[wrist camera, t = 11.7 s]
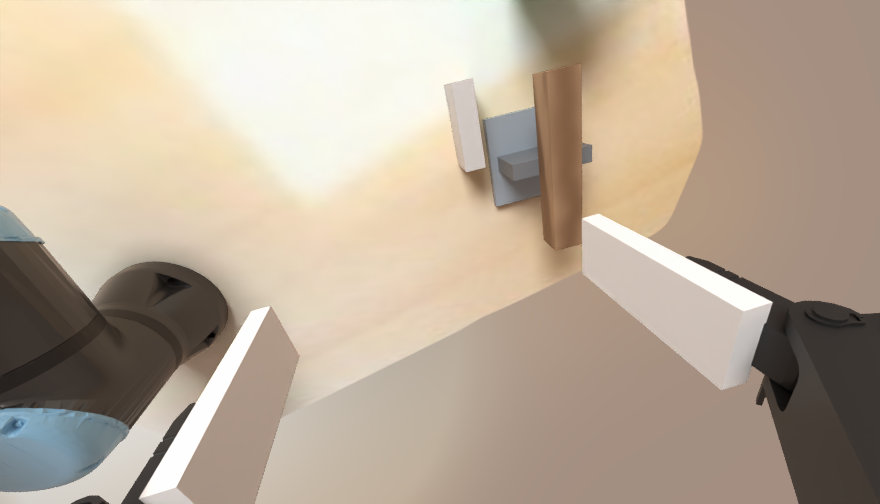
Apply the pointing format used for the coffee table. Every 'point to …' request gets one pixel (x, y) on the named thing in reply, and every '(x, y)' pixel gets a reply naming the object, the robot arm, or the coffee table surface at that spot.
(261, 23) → the coffee table surface
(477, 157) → the post
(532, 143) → the fulcrum
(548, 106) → the plank
